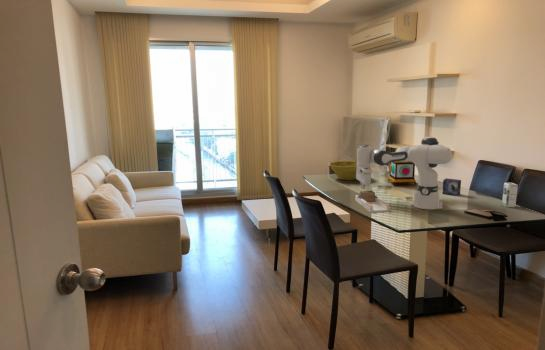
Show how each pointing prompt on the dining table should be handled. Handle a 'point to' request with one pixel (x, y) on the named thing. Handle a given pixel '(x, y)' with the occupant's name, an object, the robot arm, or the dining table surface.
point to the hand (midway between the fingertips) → (362, 188)
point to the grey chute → (373, 204)
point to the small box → (451, 187)
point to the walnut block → (368, 196)
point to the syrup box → (509, 194)
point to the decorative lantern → (402, 172)
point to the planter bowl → (345, 169)
